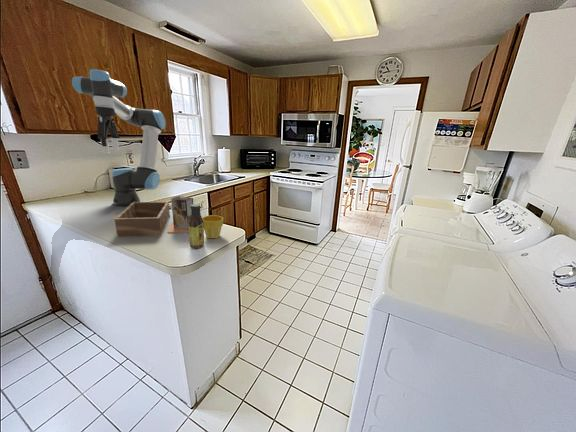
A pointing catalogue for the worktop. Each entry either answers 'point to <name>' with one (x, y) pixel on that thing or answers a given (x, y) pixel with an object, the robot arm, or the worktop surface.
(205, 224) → the plant pot
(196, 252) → the worktop surface
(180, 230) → the terracotta tile
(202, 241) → the sauce bottle
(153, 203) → the walnut box
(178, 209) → the coffee box
